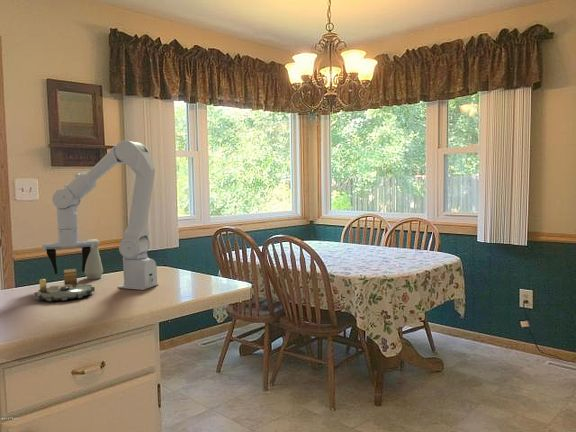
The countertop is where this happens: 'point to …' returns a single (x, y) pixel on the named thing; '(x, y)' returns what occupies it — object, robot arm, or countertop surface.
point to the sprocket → (62, 291)
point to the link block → (70, 276)
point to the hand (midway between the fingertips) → (69, 272)
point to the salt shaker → (94, 262)
